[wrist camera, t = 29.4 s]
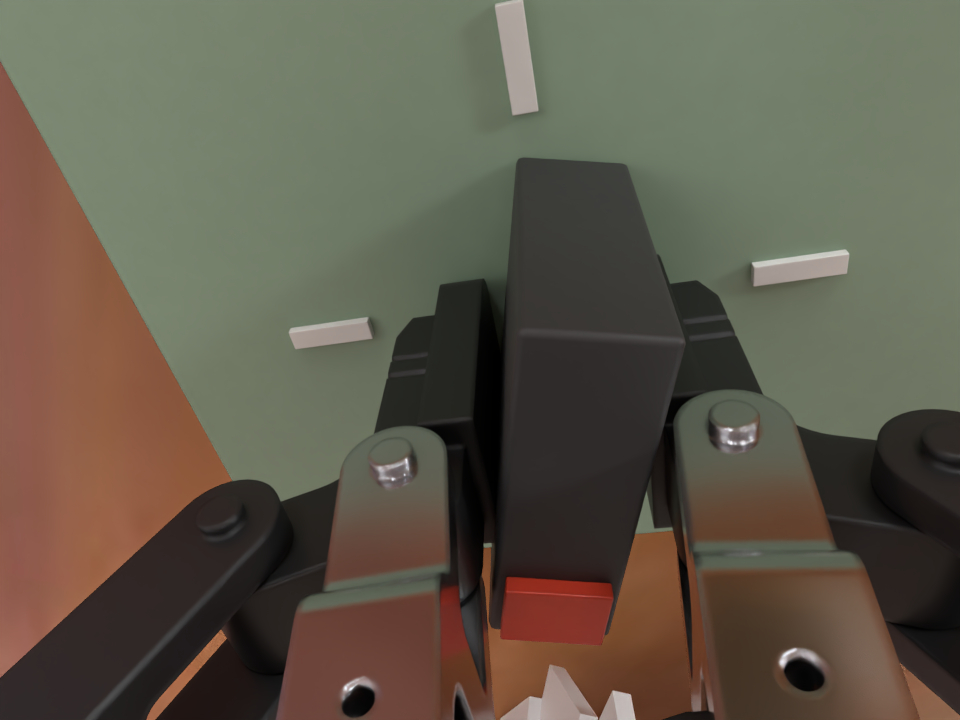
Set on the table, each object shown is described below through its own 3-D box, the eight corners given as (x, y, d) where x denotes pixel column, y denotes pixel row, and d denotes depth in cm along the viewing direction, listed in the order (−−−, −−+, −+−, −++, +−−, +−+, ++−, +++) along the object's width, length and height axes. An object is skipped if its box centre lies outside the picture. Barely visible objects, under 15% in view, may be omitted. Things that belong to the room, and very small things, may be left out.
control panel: (1005, -266, 10) (1180, -301, 7) (883, 408, 17) (950, 513, 14) (71, -49, 12) (-54, -16, 9) (310, 472, 19) (277, 573, 16)
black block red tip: (517, 154, 10) (516, 345, 6) (628, 161, 10) (694, 355, 6) (495, 410, 13) (486, 648, 9) (584, 415, 13) (611, 656, 9)
